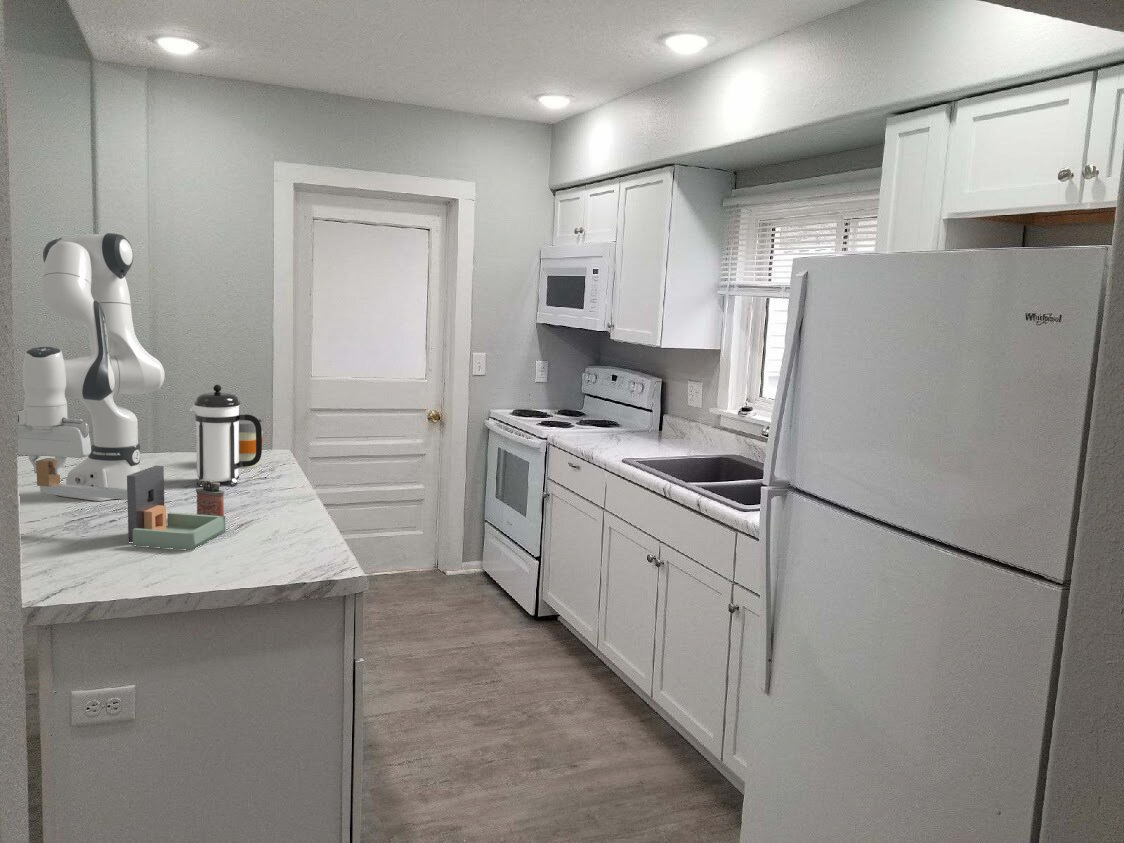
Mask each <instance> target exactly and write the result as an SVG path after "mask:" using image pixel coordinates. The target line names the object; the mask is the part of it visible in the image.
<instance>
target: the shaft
mask: <svg viewBox="0 0 1124 843" xmlns="http://www.w3.org/2000/svg"><path fill="white" fill-rule="evenodd" d="M57 462H58V461H55V457H46V458H43V459H42V458H41V459H39V460H38V461H36V470H37V473H36V486H38V487H39V492H40V494H47V495H48V494H50V495H57V494H60V495H74V496H87V497H101V498H114V499H113V500H115V499H116V500H118V499H119V500H127V489H120V488H107V487H93V486H79V485H66V483H65V484H64V483H62V484H61V474H60V475H53V474H52V467H55V466H56V464H57ZM147 499H149V491H147Z"/></svg>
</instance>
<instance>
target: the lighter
mask: <svg viewBox="0 0 1124 843" xmlns="http://www.w3.org/2000/svg"><path fill="white" fill-rule="evenodd" d="M198 480H199V479H198ZM199 485H203V486H202V487H198V488H196V489H195V493H196V514H200V515H213V516H225V510H224V509H225V508H224V503H225V501H224V500H225V499H224V496H225V491H224V490H222V489H220V487H221V483H220V482H215V481H214V480H211V481H208V480H199Z"/></svg>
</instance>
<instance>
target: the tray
mask: <svg viewBox="0 0 1124 843" xmlns="http://www.w3.org/2000/svg"><path fill="white" fill-rule="evenodd" d="M166 515H167V524H166V530H154V529H141V528H135V529H133V543H132V546H133V545H136V546H149V547H160V548H173V549H186V550H193V549H195V548H196V547H198V546H200V545H202V544H204V543H206V542H207V541H209V540H211V541H213V540H214V539H216V538H218V537H220V536H221V535H223V534H225V533H226V516H225V515H224V516H213V515H200V514H197V513H186V512H185V513H182V512H170V511H169V512H168V513H167V512H166ZM219 535H220V536H219ZM217 536H218V537H217ZM212 539H213V540H212ZM209 542H210V541H209ZM207 543H208V542H207ZM207 543H206V544H207ZM204 545H205V544H204ZM202 546H203V545H202ZM200 547H201V546H200ZM160 548H159V549H160ZM198 548H199V547H198ZM173 549H172V550H173ZM186 550H185V551H186ZM195 550H196V549H195ZM193 551H194V550H193Z"/></svg>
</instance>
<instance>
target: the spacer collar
mask: <svg viewBox="0 0 1124 843" xmlns="http://www.w3.org/2000/svg"><path fill="white" fill-rule="evenodd" d="M166 526H167V506H166V505H164V506H162V505H157V506H155V507H153V508H150V509H148V510H146V511H144V529H154V530H166Z"/></svg>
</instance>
